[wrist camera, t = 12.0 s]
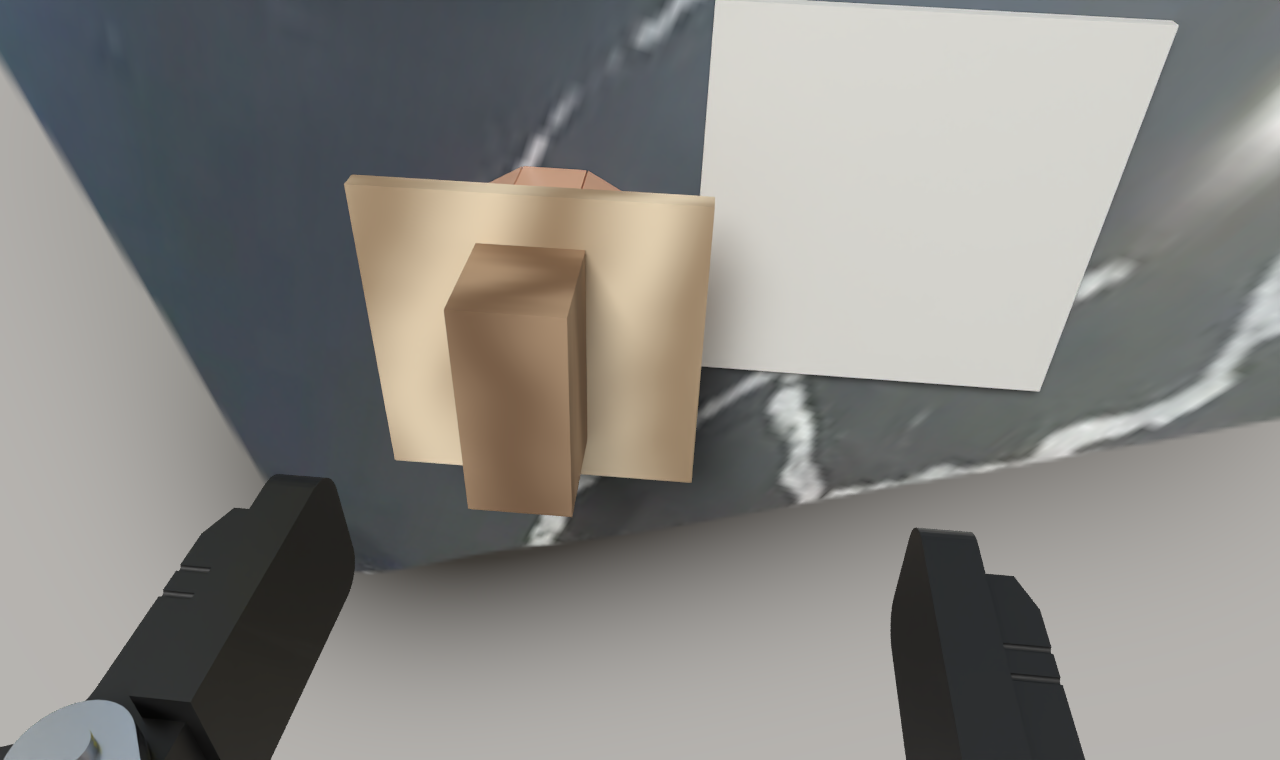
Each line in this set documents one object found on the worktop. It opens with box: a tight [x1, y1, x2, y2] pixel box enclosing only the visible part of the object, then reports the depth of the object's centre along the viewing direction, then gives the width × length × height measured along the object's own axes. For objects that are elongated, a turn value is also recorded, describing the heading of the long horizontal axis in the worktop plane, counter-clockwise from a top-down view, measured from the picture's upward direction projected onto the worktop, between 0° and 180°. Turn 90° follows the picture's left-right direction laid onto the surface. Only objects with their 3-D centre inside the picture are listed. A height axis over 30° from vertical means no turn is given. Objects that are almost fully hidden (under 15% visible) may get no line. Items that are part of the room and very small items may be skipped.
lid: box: [344, 175, 715, 517], centre depth 33 cm, size 13×13×5 cm
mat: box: [700, 0, 1179, 391], centre depth 36 cm, size 16×16×1 cm
